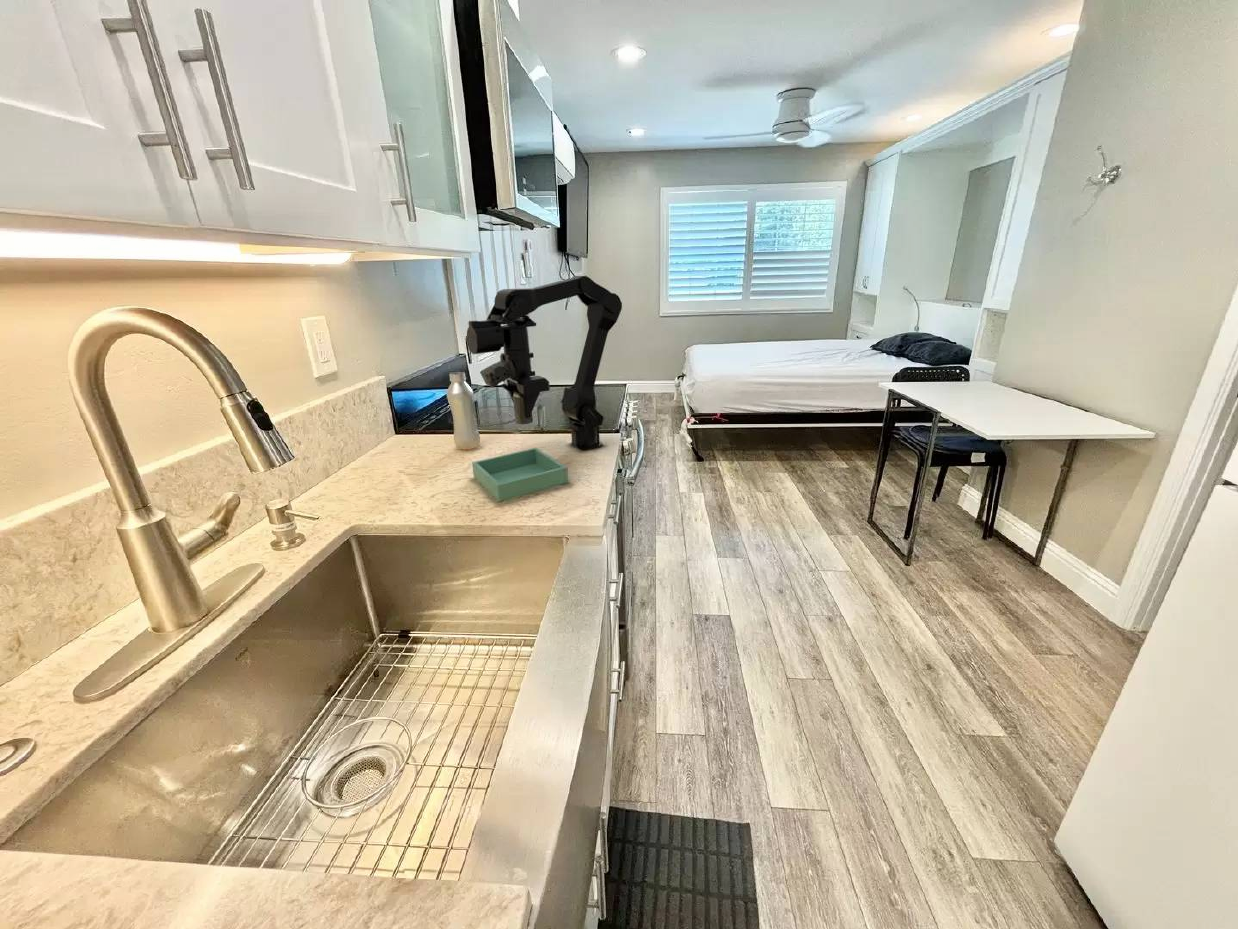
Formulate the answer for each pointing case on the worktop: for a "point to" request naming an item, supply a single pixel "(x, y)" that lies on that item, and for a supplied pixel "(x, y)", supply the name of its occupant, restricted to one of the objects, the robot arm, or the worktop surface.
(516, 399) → the salt shaker
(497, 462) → the bin
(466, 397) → the silver bottle
